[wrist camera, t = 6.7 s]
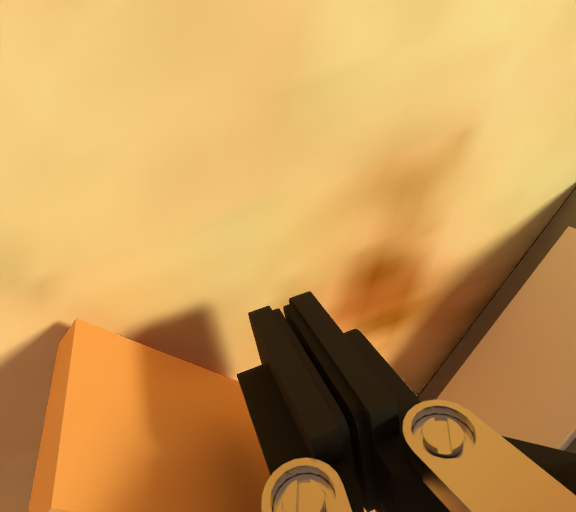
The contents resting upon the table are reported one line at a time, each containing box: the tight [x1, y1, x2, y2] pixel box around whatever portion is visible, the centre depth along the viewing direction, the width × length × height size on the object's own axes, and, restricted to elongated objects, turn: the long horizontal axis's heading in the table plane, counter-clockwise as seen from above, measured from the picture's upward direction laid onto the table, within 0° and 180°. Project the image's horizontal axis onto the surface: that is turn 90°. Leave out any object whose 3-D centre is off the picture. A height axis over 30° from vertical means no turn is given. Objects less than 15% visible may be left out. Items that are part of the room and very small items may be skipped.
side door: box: [28, 319, 376, 512], centre depth 11 cm, size 13×1×5 cm, turn 49°
